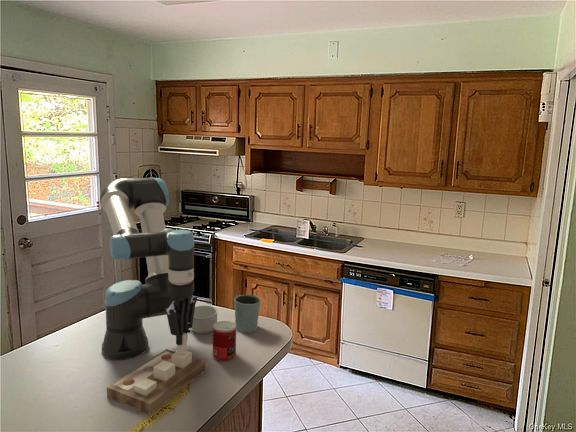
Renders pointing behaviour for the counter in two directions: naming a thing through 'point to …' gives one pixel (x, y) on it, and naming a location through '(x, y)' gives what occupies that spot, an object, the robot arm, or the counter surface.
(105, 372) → the counter surface
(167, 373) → the button middle
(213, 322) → the teacup
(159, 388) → the button board
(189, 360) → the button
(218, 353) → the canned food
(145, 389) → the button
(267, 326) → the counter surface
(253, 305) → the blue-green cup
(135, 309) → the robot arm
